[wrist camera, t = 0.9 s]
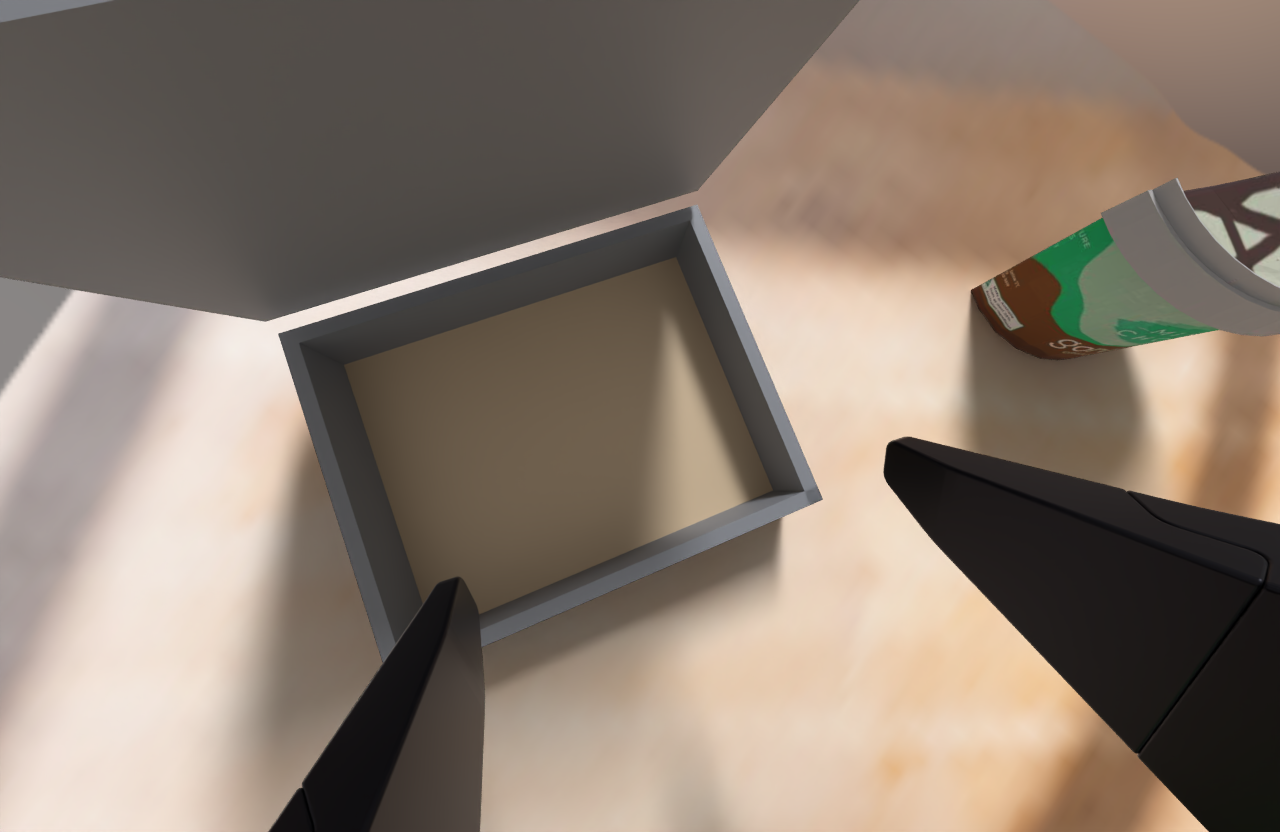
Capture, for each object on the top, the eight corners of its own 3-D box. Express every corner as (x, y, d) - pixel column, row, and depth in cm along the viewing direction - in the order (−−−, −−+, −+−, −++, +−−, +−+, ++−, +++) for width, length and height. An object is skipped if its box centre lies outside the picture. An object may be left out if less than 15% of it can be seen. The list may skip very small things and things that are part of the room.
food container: (980, 400, 25) (1227, 346, 16) (947, 294, 26) (1163, 179, 16) (1165, 358, 27) (1493, 287, 17) (1129, 260, 28) (1424, 137, 18)
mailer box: (783, 497, 23) (822, 499, 20) (428, 648, 21) (390, 686, 17) (680, 249, 25) (697, 204, 21) (334, 360, 22) (278, 333, 18)
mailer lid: (1008, -174, 7) (999, -223, 7) (-705, 159, 4) (-763, 84, 4) (697, 190, 20) (693, 176, 20) (265, 321, 18) (258, 306, 18)
